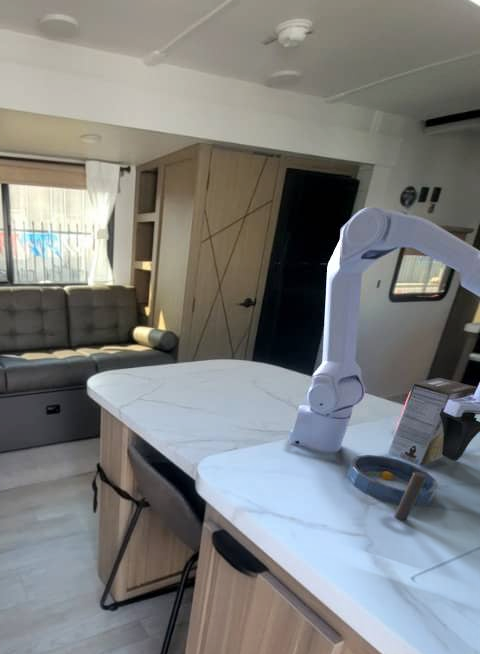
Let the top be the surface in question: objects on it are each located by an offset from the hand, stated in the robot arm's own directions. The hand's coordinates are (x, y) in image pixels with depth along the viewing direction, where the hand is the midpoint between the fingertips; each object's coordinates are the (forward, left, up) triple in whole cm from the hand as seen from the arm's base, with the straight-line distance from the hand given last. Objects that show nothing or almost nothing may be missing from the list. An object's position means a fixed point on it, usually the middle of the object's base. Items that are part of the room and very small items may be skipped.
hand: (470, 456), depth 63 cm
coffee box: (-2, +17, -10) cm, 20 cm away
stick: (-7, -10, -10) cm, 16 cm away
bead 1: (-10, -1, -8) cm, 13 cm away
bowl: (-8, 0, -10) cm, 13 cm away
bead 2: (-8, +3, -8) cm, 12 cm away
